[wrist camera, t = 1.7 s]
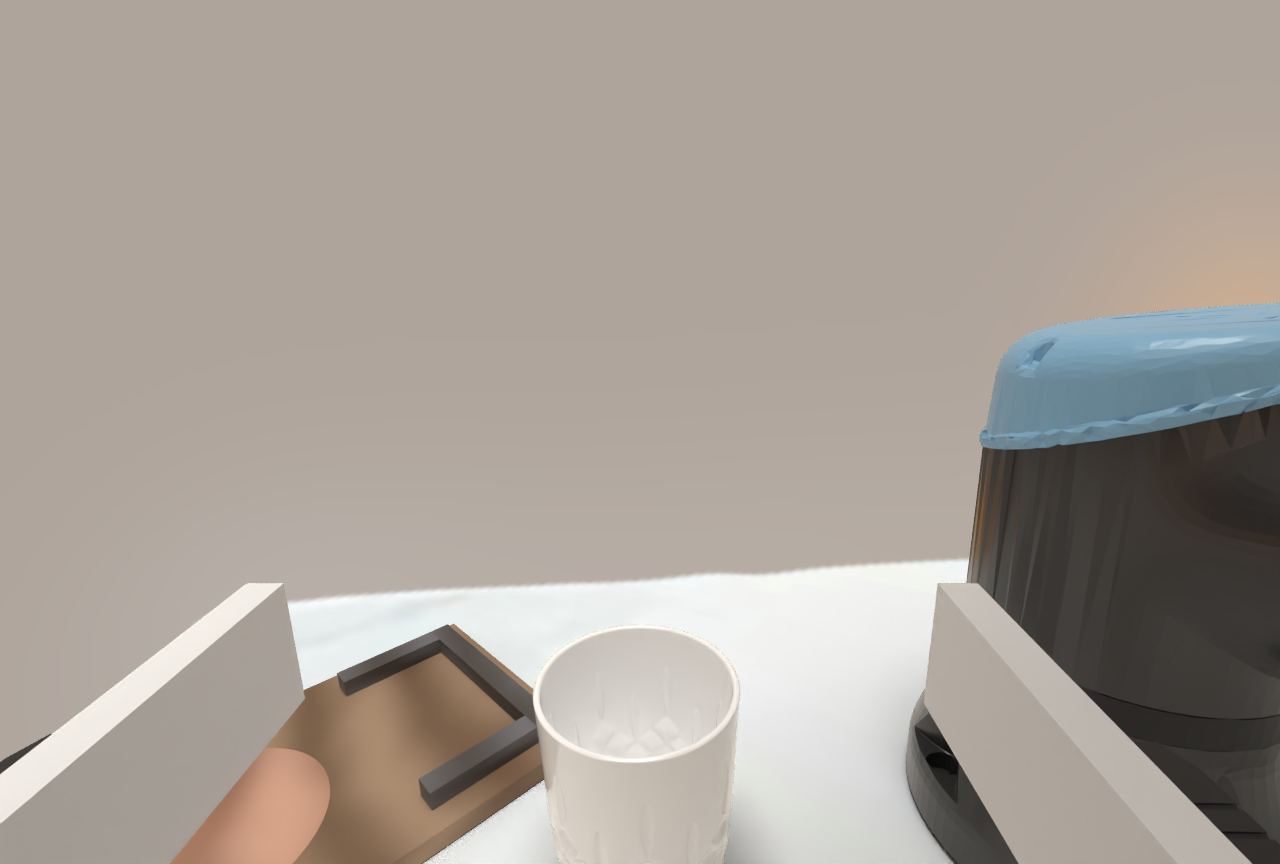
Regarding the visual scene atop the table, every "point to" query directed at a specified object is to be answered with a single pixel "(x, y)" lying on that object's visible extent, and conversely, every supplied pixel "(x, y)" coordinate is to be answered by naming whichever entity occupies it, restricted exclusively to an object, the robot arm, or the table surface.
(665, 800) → the white cup
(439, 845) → the walnut board
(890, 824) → the table surface
